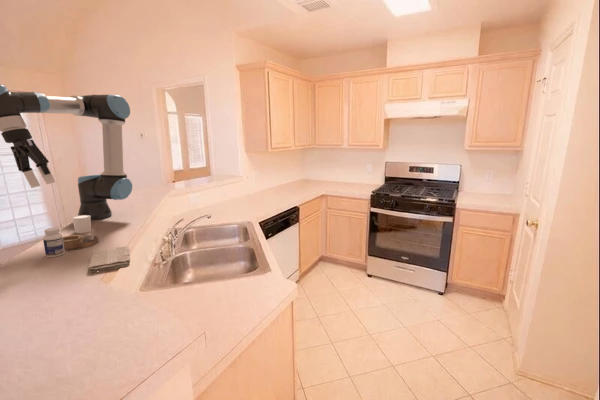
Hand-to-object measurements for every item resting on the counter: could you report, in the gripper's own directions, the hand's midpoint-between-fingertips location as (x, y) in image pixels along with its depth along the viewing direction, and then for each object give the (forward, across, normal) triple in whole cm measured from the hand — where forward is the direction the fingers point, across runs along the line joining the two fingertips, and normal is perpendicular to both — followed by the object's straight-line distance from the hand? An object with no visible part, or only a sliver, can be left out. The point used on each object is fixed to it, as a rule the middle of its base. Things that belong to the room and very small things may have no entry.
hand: (43, 185), depth 110 cm
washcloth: (+31, +30, -4) cm, 44 cm away
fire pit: (+26, +3, 0) cm, 26 cm away
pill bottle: (+25, +9, -10) cm, 28 cm away
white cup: (+25, -14, +10) cm, 30 cm away
